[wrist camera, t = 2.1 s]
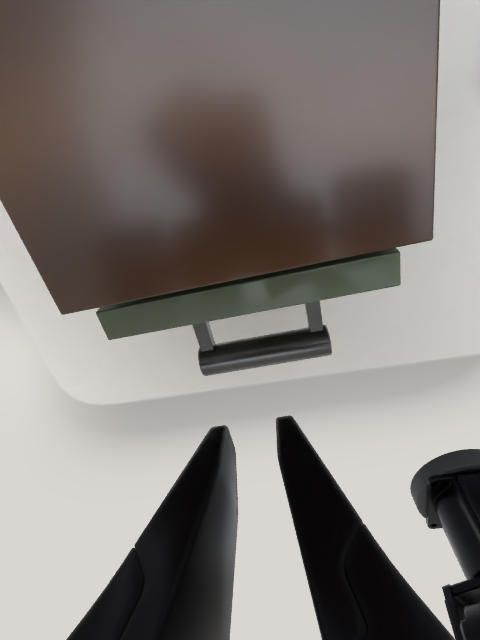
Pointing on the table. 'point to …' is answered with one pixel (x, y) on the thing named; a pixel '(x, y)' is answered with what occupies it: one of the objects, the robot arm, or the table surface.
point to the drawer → (256, 310)
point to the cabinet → (213, 137)
